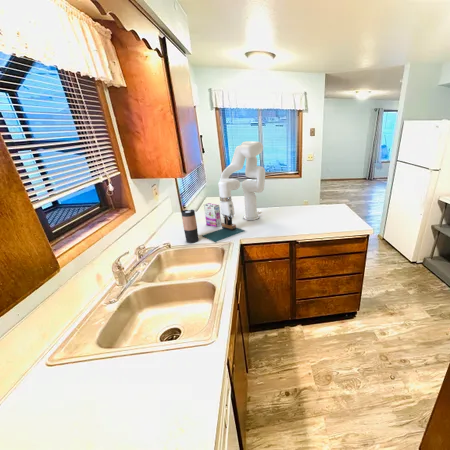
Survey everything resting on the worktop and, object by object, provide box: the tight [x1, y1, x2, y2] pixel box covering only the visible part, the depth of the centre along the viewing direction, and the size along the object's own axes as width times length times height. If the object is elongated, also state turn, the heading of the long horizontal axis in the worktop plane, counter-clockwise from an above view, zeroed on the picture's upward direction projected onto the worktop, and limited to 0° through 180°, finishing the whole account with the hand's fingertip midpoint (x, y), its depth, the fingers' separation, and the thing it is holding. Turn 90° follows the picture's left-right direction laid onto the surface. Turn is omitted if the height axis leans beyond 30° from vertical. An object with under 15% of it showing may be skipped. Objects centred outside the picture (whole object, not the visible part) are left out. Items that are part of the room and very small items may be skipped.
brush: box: [221, 216, 237, 231], centre depth 169 cm, size 4×10×10 cm, turn 61°
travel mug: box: [180, 209, 199, 244], centre depth 150 cm, size 8×8×20 cm
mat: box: [201, 227, 246, 243], centre depth 164 cm, size 24×16×1 cm, turn 142°
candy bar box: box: [203, 202, 222, 228], centre depth 177 cm, size 11×5×16 cm, turn 62°
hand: (228, 223), depth 169 cm, fingers closed on brush, 3 cm apart
